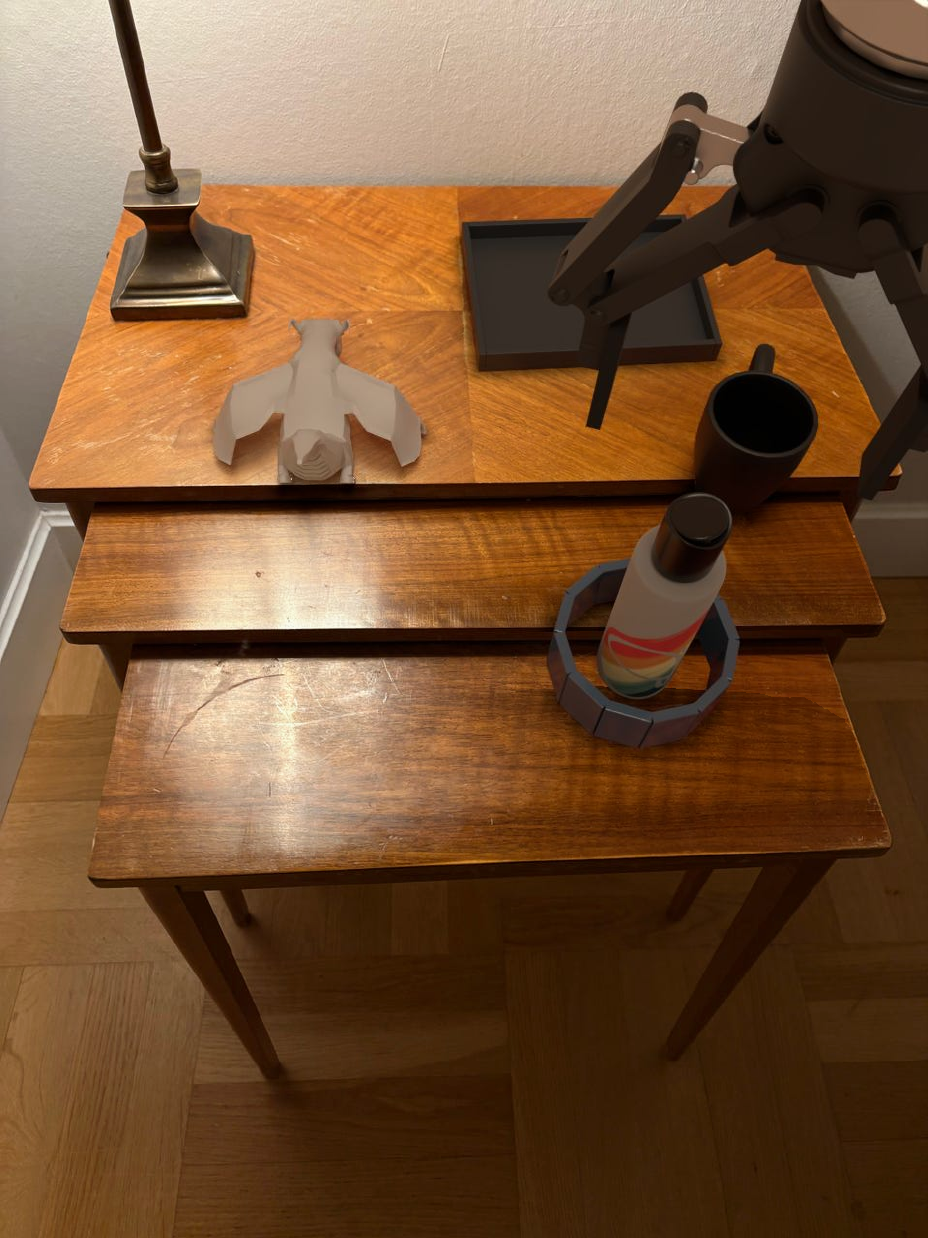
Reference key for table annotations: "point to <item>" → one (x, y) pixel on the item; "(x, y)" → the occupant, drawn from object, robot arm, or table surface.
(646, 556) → the white cylindrical bottle
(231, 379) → the table surface
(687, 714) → the segmented bangle bracelet
